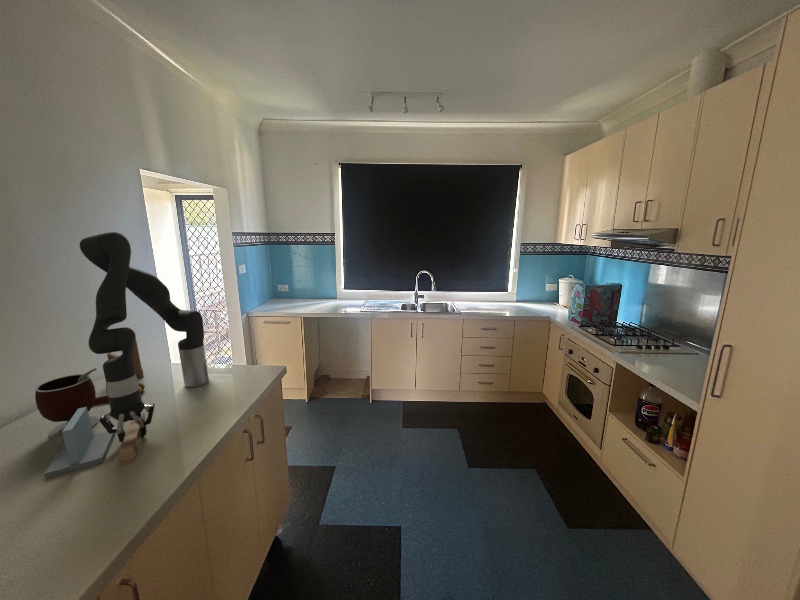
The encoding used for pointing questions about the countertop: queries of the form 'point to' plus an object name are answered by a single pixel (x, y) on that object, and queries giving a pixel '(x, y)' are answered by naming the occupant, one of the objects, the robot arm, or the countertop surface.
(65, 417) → the mate gourd
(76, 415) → the stand
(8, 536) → the countertop surface
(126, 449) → the light wood bar
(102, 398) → the gavel
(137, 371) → the wooden block
